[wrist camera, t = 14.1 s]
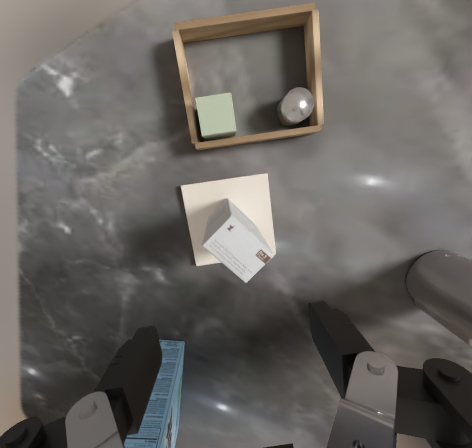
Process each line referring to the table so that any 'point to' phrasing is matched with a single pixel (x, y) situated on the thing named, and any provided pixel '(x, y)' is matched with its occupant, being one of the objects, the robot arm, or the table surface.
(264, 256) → the skincare box
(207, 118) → the sage block
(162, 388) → the gum box
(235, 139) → the oak corral
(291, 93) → the grey ball
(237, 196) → the ceramic pad
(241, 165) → the table surface
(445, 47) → the table surface
